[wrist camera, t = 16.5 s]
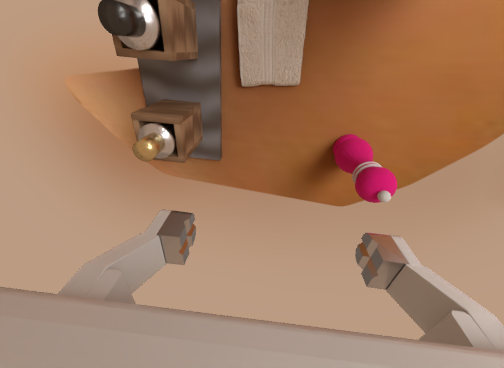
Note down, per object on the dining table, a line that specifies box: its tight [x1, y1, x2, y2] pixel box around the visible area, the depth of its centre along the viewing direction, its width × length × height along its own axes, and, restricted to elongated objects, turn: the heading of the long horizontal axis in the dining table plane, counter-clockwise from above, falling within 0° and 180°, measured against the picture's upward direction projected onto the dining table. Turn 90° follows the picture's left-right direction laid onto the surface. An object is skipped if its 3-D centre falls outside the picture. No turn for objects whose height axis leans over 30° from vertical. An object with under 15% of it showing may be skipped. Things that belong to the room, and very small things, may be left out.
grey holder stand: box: [112, 0, 222, 163], centre depth 37 cm, size 34×16×14 cm, turn 176°
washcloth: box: [237, 0, 309, 87], centre depth 37 cm, size 12×18×3 cm, turn 1°
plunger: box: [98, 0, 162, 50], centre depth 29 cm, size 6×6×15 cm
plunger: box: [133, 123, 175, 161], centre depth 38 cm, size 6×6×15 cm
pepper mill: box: [333, 134, 397, 203], centre depth 39 cm, size 7×7×20 cm
